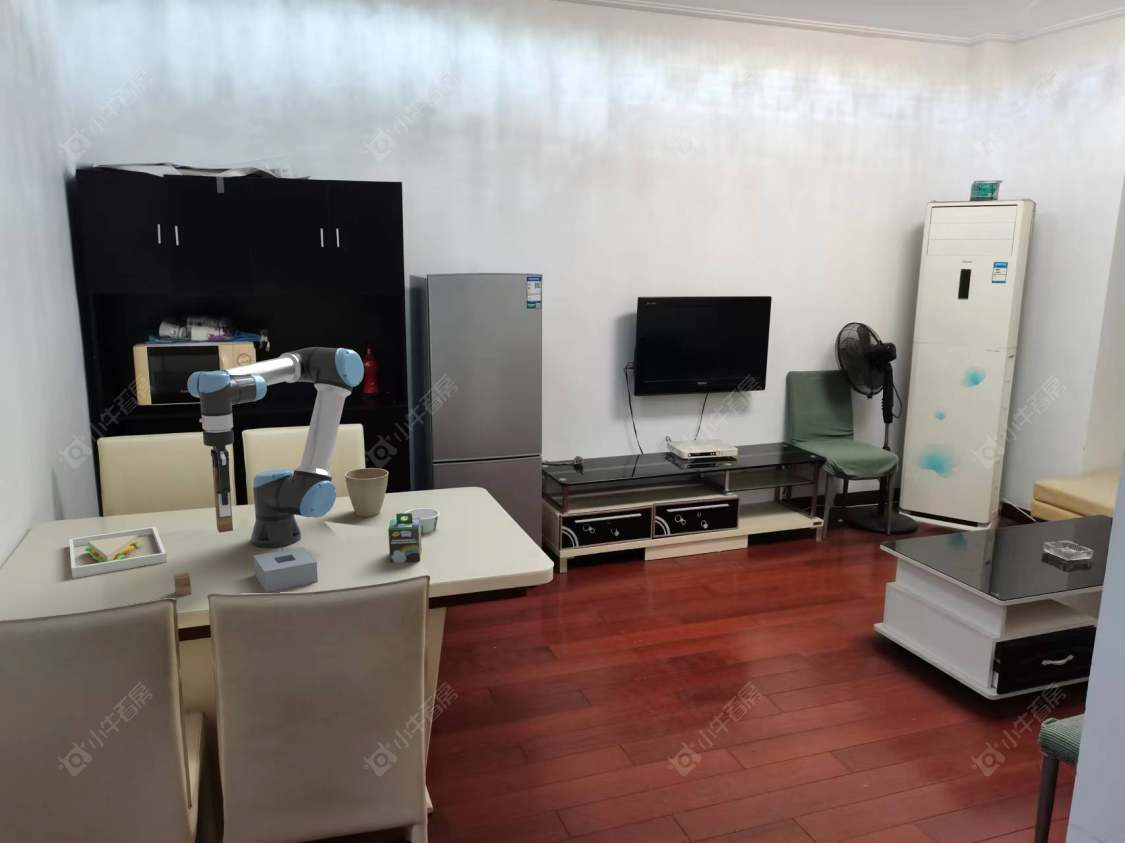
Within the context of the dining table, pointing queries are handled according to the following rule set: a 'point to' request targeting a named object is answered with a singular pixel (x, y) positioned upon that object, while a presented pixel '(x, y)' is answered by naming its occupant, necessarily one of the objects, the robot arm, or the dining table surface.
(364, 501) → the plant pot
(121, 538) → the sandwich
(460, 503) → the dining table surface
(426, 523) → the food container
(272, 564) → the hole block
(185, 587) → the short pin
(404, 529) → the chalk box
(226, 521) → the long wooden block
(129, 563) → the sandwich plate rim
